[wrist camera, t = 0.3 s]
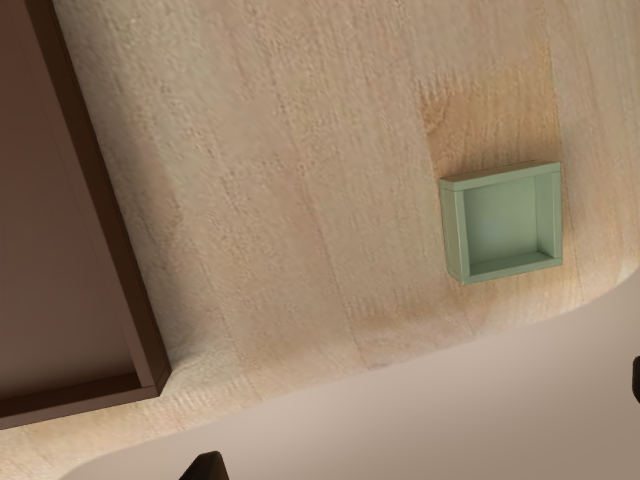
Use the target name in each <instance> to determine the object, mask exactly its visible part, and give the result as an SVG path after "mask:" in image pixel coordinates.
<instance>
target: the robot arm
mask: <svg viewBox="0 0 640 480" xmlns="http://www.w3.org/2000/svg"><path fill="white" fill-rule="evenodd" d="M632 390H633V394H634V396H635V397H636V399H637V401H638V402H639V403H640V356H638V357H636V358H635V359H634V361H633V377H632ZM179 480H229V477H228V474H227V471H226V468H225V465H224V462H223V458H222V456H221V454H220V452H218V451H212V452H208V453H203V454H200V455H199V456H198V457H197V458H196V459H195V460H194V461H193V463H192V464H191V465H190V466H189V468H188V469H187V470H186V471H185V473H184V474H183V475H182V476H181V477H180V479H179Z"/></svg>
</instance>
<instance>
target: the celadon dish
mask: <svg viewBox="0 0 640 480" xmlns="http://www.w3.org/2000/svg"><path fill="white" fill-rule="evenodd" d="M439 190H440V200H441V209H442V219H443V229H444V239H445V249H446V259H447V269H448V273H449V274H450V275H451V276H452V277H454V278H455V279H456V280H457V281H458V282H460V283H461V284H462V285H467V284H472V283H477V282H482V281H487V280H492V279H496V278H501V277H506V276H511V275H516V274H521V273H525V272H530V271H535V270H540V269H545V268H550V267H554V266H559V265H562V264H563V260H562V203H561V162H559V161H546V160H532V161H527V162H522V163H516V164H511V165H506V166H501V167H496V168H491V169H486V170H481V171H476V172H471V173H466V174H460V175H455V176H450V177H445V178H440V179H439Z"/></svg>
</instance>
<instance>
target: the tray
mask: <svg viewBox="0 0 640 480" xmlns="http://www.w3.org/2000/svg"><path fill="white" fill-rule="evenodd" d="M171 373H172V370H171V367H170V364H169V361H168V358H167V355H166V352H165V349H164V346H163V342H162V339H161V336H160V333H159V330H158V327H157V324H156V321H155V318H154V315H153V312H152V309H151V306H150V303H149V299H148V296H147V293H146V290H145V287H144V284H143V281H142V278H141V275H140V272H139V269H138V266H137V263H136V260H135V256H134V253H133V250H132V247H131V244H130V241H129V238H128V235H127V232H126V229H125V226H124V223H123V220H122V217H121V213H120V210H119V207H118V204H117V201H116V198H115V195H114V192H113V189H112V186H111V183H110V180H109V177H108V174H107V170H106V167H105V164H104V161H103V158H102V155H101V152H100V149H99V146H98V143H97V140H96V137H95V134H94V131H93V127H92V124H91V121H90V118H89V115H88V112H87V109H86V106H85V103H84V100H83V97H82V94H81V91H80V88H79V85H78V81H77V78H76V75H75V72H74V69H73V66H72V63H71V60H70V57H69V54H68V51H67V48H66V45H65V42H64V38H63V35H62V32H61V29H60V26H59V23H58V20H57V17H56V14H55V11H54V8H53V5H52V2H51V0H0V430H3V429H8V428H13V427H18V426H22V425H27V424H32V423H37V422H41V421H46V420H51V419H55V418H60V417H65V416H70V415H74V414H79V413H84V412H89V411H93V410H98V409H103V408H107V407H112V406H117V405H122V404H126V403H131V402H136V401H141V400H145V399H150V398H155V397H159V396H160V395H161V393H162V390H163V388H164V386H165V384H166V382H167V380H168V378H169V376H170V375H171Z"/></svg>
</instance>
